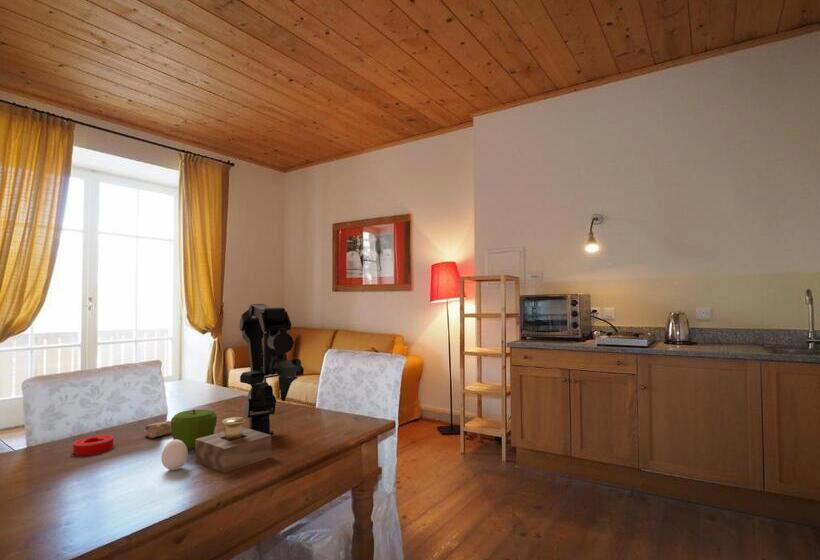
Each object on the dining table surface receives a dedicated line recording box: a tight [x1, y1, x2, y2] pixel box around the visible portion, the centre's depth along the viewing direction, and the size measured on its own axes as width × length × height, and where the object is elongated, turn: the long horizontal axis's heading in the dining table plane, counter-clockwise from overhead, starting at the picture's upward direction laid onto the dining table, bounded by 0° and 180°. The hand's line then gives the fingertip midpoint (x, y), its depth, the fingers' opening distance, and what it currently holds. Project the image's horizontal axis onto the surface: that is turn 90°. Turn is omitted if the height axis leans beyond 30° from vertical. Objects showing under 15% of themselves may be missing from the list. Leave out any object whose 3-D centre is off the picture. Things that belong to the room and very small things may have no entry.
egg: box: [160, 439, 189, 471], centre depth 116 cm, size 6×6×8 cm
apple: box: [170, 408, 218, 452], centre depth 134 cm, size 12×12×11 cm
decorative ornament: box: [72, 434, 114, 456], centre depth 133 cm, size 10×10×3 cm
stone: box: [143, 420, 172, 439], centre depth 147 cm, size 8×10×4 cm
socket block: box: [194, 426, 272, 474], centre depth 123 cm, size 14×14×6 cm
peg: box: [221, 416, 246, 441], centre depth 123 cm, size 6×6×6 cm
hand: (273, 403), depth 133 cm, fingers open, 7 cm apart
